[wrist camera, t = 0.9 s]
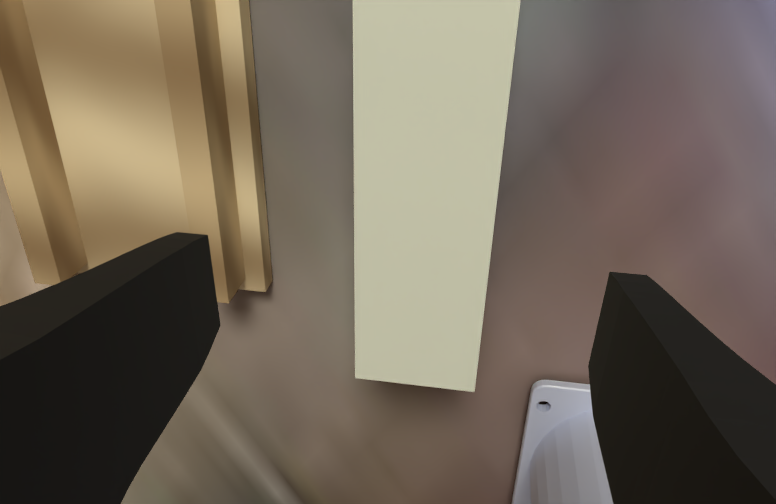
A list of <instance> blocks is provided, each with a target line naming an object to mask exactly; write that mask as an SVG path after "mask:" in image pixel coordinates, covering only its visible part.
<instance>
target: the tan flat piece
mask: <svg viewBox="0 0 776 504" xmlns="http://www.w3.org/2000/svg"><path fill="white" fill-rule="evenodd" d="M0 170H1V173H2V176H3V180H4V183H5V186H6V190H7V193H8V196H9V199H10V203H11V206H12V209H13V212H14V216H15V219H16V222H17V226H18V229H19V232H20V235H21V239H22V242H23V245H24V249H25V252H26V255H27V258H28V262H29V265H30V268H31V271H32V275H33V278H34V281H35V283H40V284H49V285H55V284H57V283H60V282H62V281H64V280H67V279H69V278H71V277H72V276H73V275H75V274H76V273H83V272H85V271H87V270H90V269H92V268H94V267H96V266H98V265H100V264H103V263H105V262H107V261H109V260H111V259H114V258H116V257H118V256H120V255H122V254H124V253H127V252H129V251H131V250H133V249H135V248H138V247H140V246H142V245H144V244H147V243H149V242H151V241H154V240H156V239H158V238H161V237H163V236H166V235H169V234H172V233H175V232H182V233H193V234H204V235H208V239H209V246H210V254H211V261H212V268H213V275H214V283H215V290H216V297H217V302H222V303H229V302H230V301H231V299H232V298H233V296H234V295H235V293H236V292H237V290H238V289H241V290H251V291H261V292H266V291H267V289H268V287H269V285H270V284H271V282H272V268H271V256H270V244H269V232H268V220H267V209H266V197H265V185H264V173H263V161H262V150H261V138H260V126H259V114H258V102H257V91H256V79H255V67H254V55H253V43H252V31H251V20H250V8H249V0H0Z"/></svg>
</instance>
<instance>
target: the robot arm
mask: <svg viewBox="0 0 776 504" xmlns="http://www.w3.org/2000/svg"><path fill="white" fill-rule="evenodd" d="M219 327H220V319H219V312H218V305H217V297H216V290H215V283H214V275H213V268H212V261H211V254H210V246H209V239H208V235H204V234H193V233H182V232H175V233H172V234H169V235H166V236H163V237H161V238H158V239H156V240H154V241H151V242H149V243H147V244H144V245H142V246H140V247H138V248H135V249H133V250H131V251H129V252H127V253H124V254H122V255H120V256H118V257H116V258H114V259H111V260H109V261H107V262H105V263H103V264H100V265H98V266H96V267H94V268H92V269H90V270H87V271H85V272H83V273H81V274H79V275H76V276H74V277H72V278H69V279H67V280H64V281H62V282H60V283H57V284H55V285H53V286H50V287H48V288H45V289H43V290H41V291H38V292H36V293H34V294H31V295H29V296H26V297H24V298H22V299H19V300H16V301H14V302H11V303H8V304H6V305H3V306H0V504H121V502H122V500H123V498H124V496H125V494H126V491H127V490H128V488H129V486H130V484H131V482H132V481H133V479H134V477H135V475H136V474H137V472H138V470H139V468H140V467H141V465H142V463H143V462H144V460H145V459H146V457H147V455H148V454H149V452H150V451H151V449H152V448H153V446H154V444H155V443H156V441H157V440H158V438H159V437H160V435H161V433H162V432H163V430H164V429H165V427H166V425H167V424H168V422H169V421H170V419H171V418H172V416H173V414H174V413H175V411H176V410H177V408H178V406H179V405H180V403H181V402H182V400H183V398H184V397H185V395H186V394H187V392H188V390H189V389H190V387H191V385H192V384H193V382H194V381H195V379H196V377H197V376H198V374H199V372H200V371H201V369H202V367H203V364H204V362H205V360H206V358H207V356H208V354H209V351H210V349H211V347H212V344H213V342H214V339H215V337H216V335H217V332H218V330H219ZM588 367H589V379H590V384H581V383H572V382H563V381H554V380H539V381H537V382H535V383H534V384H533V385H532V388H531V392H530V398H529V404H528V410H527V415H526V421H525V427H524V433H523V439H522V444H521V450H520V456H519V462H518V468H517V474H516V479H515V485H514V491H513V497H512V503H511V504H776V385H775V384H774V383H773V382H771V381H770V380H769V379H768V378H766V377H765V376H764V375H762V374H761V373H760V372H759V371H757V370H756V369H755V368H753V367H752V366H751V365H750V364H748V363H747V362H746V361H744V360H743V359H742V358H741V357H740V356H738V355H737V354H736V353H735V352H734V351H732V350H731V349H730V348H729V347H728V346H726V345H725V344H724V343H723V342H722V341H721V340H719V339H718V338H717V337H716V336H715V335H714V334H713V333H711V332H710V331H709V330H708V329H707V328H706V327H705V326H703V325H702V324H701V323H700V322H699V321H698V320H697V319H696V318H695V317H693V316H692V315H691V314H690V313H689V312H688V311H687V310H686V309H685V308H684V307H682V306H681V305H680V304H679V303H678V302H677V301H676V300H675V299H674V298H673V297H672V296H670V295H669V294H668V293H667V292H666V291H665V290H664V289H663V288H662V287H660V286H659V285H658V284H657V283H656V282H655V281H654V280H652V279H651V278H650V277H648V276H647V275H638V274H627V273H616V272H610V273H609V277H608V282H607V286H606V291H605V295H604V299H603V304H602V308H601V313H600V317H599V321H598V326H597V330H596V335H595V339H594V343H593V348H592V352H591V357H590V361H589V365H588ZM541 401H546V402H548V403H547V404H543V405H542V404H539V402H541Z"/></svg>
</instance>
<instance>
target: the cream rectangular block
mask: <svg viewBox="0 0 776 504" xmlns="http://www.w3.org/2000/svg"><path fill="white" fill-rule="evenodd" d="M519 8H520V0H353V112H354V272H355V378H360V379H368V380H377V381H385V382H394V383H402V384H411V385H419V386H428V387H436V388H445V389H453V390H462V391H470V392H475V384H476V375H477V367H478V358H479V350H480V341H481V333H482V324H483V316H484V307H485V298H486V290H487V281H488V273H489V264H490V256H491V247H492V239H493V230H494V222H495V213H496V205H497V196H498V187H499V179H500V170H501V162H502V153H503V145H504V136H505V128H506V119H507V111H508V102H509V94H510V85H511V77H512V68H513V59H514V51H515V42H516V34H517V25H518V17H519Z"/></svg>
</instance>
